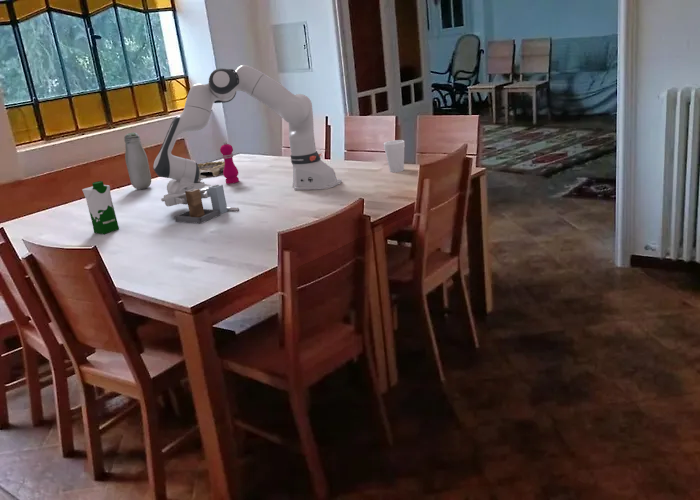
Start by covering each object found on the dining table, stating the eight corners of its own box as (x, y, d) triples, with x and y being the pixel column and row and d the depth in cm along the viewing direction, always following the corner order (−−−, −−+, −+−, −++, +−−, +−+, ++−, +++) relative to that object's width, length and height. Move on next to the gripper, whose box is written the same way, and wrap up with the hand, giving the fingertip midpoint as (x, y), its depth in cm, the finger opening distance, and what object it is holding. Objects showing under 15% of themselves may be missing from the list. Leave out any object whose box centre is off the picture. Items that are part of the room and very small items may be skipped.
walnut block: (204, 215, 275) (199, 188, 271) (197, 218, 272) (191, 191, 268) (197, 215, 277) (192, 188, 274) (190, 217, 274) (184, 191, 271)
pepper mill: (238, 182, 329) (231, 141, 322) (223, 184, 329) (215, 143, 323) (241, 179, 335) (233, 138, 329) (226, 181, 336) (218, 140, 329)
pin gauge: (238, 207, 278) (235, 209, 277) (239, 210, 279) (237, 212, 277) (220, 205, 283) (218, 208, 282) (221, 209, 284) (219, 211, 283)
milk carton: (103, 235, 268) (90, 185, 262) (90, 233, 274) (78, 184, 267) (122, 228, 274) (110, 179, 268) (110, 226, 280) (98, 178, 273)
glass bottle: (141, 191, 337) (128, 135, 328) (128, 190, 343) (115, 135, 334) (157, 186, 345) (145, 130, 336) (144, 185, 351) (132, 130, 342)
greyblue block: (227, 211, 280) (222, 184, 276) (220, 213, 277) (215, 187, 273) (220, 210, 282) (215, 184, 279) (213, 213, 279) (208, 186, 276)
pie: (180, 174, 370) (179, 165, 368) (229, 165, 380) (228, 156, 379) (192, 182, 346) (190, 172, 344) (244, 172, 356) (242, 162, 354)
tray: (220, 215, 275) (219, 210, 274) (200, 223, 267) (199, 218, 266) (195, 213, 283) (194, 208, 282) (175, 221, 274) (174, 216, 274)
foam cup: (384, 173, 308) (381, 145, 304) (389, 168, 316) (386, 140, 312) (404, 172, 305) (402, 143, 301) (409, 167, 314) (406, 139, 309)
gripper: (158, 191, 278) (166, 197, 266) (206, 180, 286) (217, 185, 275) (161, 206, 280) (170, 212, 268) (209, 195, 288) (220, 200, 277)
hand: (194, 198), depth 271 cm, fingers open, 8 cm apart
